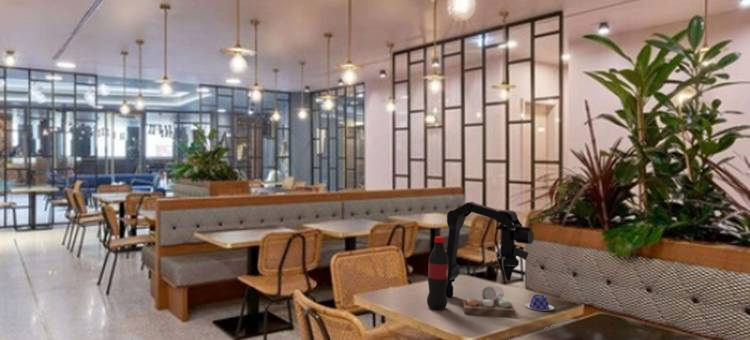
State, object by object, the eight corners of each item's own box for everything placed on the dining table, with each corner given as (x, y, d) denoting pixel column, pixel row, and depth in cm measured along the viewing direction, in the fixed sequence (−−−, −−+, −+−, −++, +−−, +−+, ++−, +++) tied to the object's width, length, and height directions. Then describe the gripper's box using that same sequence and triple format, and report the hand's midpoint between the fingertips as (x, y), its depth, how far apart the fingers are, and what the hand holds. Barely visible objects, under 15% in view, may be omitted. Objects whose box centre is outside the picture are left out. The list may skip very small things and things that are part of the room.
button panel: (464, 313, 215) (464, 307, 215) (462, 305, 227) (462, 299, 227) (514, 316, 214) (515, 310, 214) (509, 308, 226) (510, 302, 226)
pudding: (549, 314, 220) (550, 301, 220) (521, 308, 227) (521, 296, 226) (557, 307, 230) (557, 295, 230) (529, 302, 237) (529, 290, 237)
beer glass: (496, 281, 239) (487, 282, 226) (508, 292, 236) (500, 293, 223) (486, 293, 240) (477, 294, 227) (498, 304, 237) (489, 306, 224)
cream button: (483, 308, 219) (483, 302, 218) (481, 305, 223) (482, 299, 223) (494, 309, 218) (494, 302, 218) (492, 306, 222) (492, 299, 222)
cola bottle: (448, 306, 225) (451, 236, 224) (444, 312, 217) (447, 238, 216) (429, 304, 228) (431, 234, 227) (424, 309, 220) (427, 237, 219)
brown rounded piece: (467, 307, 219) (467, 301, 219) (466, 304, 223) (466, 298, 223) (477, 308, 219) (478, 301, 219) (476, 305, 223) (477, 298, 223)
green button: (499, 309, 218) (499, 302, 218) (497, 306, 222) (498, 300, 222) (510, 310, 218) (510, 303, 217) (508, 307, 222) (508, 300, 222)
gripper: (532, 245, 212) (531, 284, 212) (522, 238, 231) (521, 274, 231) (504, 244, 213) (502, 283, 213) (496, 237, 231) (495, 273, 232)
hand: (506, 278), depth 222 cm, fingers open, 9 cm apart
